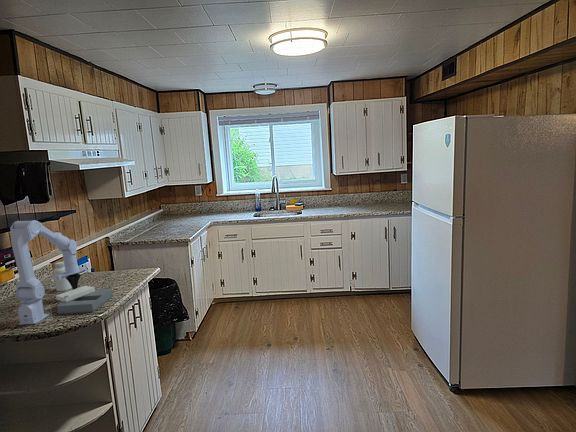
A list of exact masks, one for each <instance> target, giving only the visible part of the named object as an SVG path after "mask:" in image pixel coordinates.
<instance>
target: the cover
mask: <svg viewBox="0 0 576 432" xmlns="http://www.w3.org/2000/svg"><path fill="white" fill-rule="evenodd" d="M95 289H96V287H95V286H90V285H89V286H88V285H84V286H83V285H82V286H78V287H77V289H70V290H67V291H64V292H63V293H60V294H59V293H58V294H57V295H56V296H55V297H56V300H57V301H60V302H68V301H70V300H73V299H76V298H79V297H81V296H84V295H87V294H89V293H92V292H95Z"/></svg>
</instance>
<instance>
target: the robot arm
mask: <svg viewBox="0 0 576 432" xmlns="http://www.w3.org/2000/svg"><path fill="white" fill-rule="evenodd" d="M9 229H10V234H11V240H10V243H11V244H10V245H11V247H12V252H13V255H14V261H15V263H16V269H17V272H18V277H19V282H18V283H17V284H16V285H15V288H16V291H15V296H16V298H17V299H18V300H19V301H20V302H21V305H20V306H19V307H18V309H17V313H18V318H19V319H18V321H19V323H18V325H19V326H20V325H24V326H25V325H35V324H36V325H37V324H38V323H39V322H41V321H42V320H44V319H45V318H47V317H48V316H50V313H45V310H44V304H43V299H44V296H45V287H44V286H43V284H42V282H41V281H40V280H39V279H37V278H36V275H35V270H34V266H33V261H32V258H31V253H30V250H29V249H30V248H29V245H28V244H29V242H31V241H32V240H33V239H34V238H36V237H37V236H38V235H39V236H41V237H44V238H46V239H47V240H48V242H49V243H50V244H52V245H54V246H56V247H57V249H58V251H60V252H61V254H62V260H63V261H64V266H65V272H64V273H62V274H60V275H57V279H58V280H60V279H62V278H66V279H67V280H68V281H69V283H70V285H71V286H72V288H71V290H74V289H77V288H78V287H79V286H78V285H79V280H80V277H81V273H85V272H88V267H86V266H84V267H79V266H78V259H77V252H78V251H77V249H78V243H77V242H76V241H75V240H74V239H73V238H71V239H70V238H68V236H64V235H63V234H62V233H61V232H59V231H56V232H55V231H54V232H53V231H51V230H50V229H49V228H47V227H46V226H44V225H43V223H42V222H40V221H38V220H34V219H33V220H17V221H14V222H13V223H12V225H11V226H10V228H9Z"/></svg>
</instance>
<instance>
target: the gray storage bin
mask: <svg viewBox="0 0 576 432" xmlns="http://www.w3.org/2000/svg"><path fill="white" fill-rule="evenodd" d="M112 297H114V292H113V288H100V289H99V288H97V289H96V288H95V292H92V293H89V294H87V295H84V296H81V297H79V298H76V299H73V300H70V301H68V302H64V301H61V303H59V304H58V305H56V307H57V314H58V315H68V314H69V315H70V314H71V315H73V314H87V313H94V312H95V310H96V311H97V310H98V309H100V308H101V307H102V306H103V305H104V304H106V302H107V301H109V300H110V299H112ZM101 305H102V306H101Z"/></svg>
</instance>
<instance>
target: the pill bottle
mask: <svg viewBox="0 0 576 432" xmlns="http://www.w3.org/2000/svg"><path fill="white" fill-rule="evenodd" d="M54 267H55V268H54V269H53V270H52V271H53V272H52V273H53V279H54V286H55V291H56V292H67V291H70V290H72V286H71V285H70V283H69V281H68V280H67V279H66V278H62V279H60V280H58V279H57V275H60V274H62V273H64V272H65V266H64V260H63V261H59V262H55V263H54Z"/></svg>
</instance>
